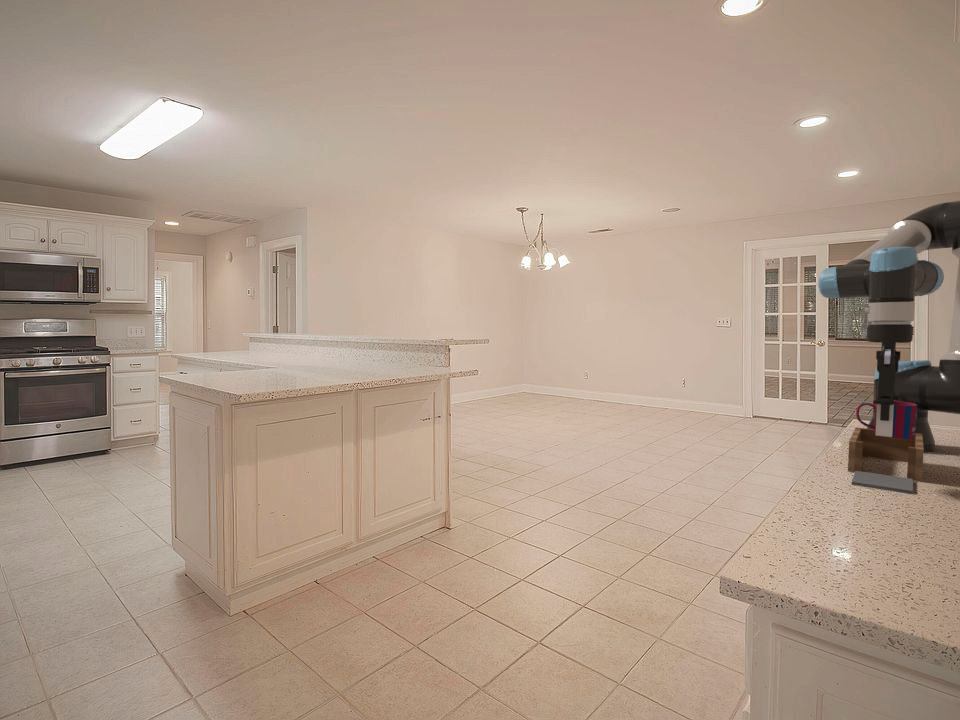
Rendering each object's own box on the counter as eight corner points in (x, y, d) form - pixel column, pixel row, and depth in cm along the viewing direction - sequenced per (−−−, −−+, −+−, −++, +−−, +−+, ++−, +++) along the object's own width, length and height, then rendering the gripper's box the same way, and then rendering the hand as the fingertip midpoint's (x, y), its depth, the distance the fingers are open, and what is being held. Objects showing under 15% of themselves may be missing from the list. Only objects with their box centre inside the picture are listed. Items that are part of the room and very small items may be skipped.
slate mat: (855, 473, 118) (855, 470, 118) (912, 481, 112) (912, 478, 112) (851, 484, 110) (851, 481, 110) (912, 493, 104) (913, 491, 104)
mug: (915, 440, 105) (918, 406, 104) (854, 433, 111) (856, 401, 110) (913, 434, 110) (916, 402, 109) (855, 428, 116) (857, 397, 115)
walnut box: (854, 454, 134) (855, 427, 134) (920, 462, 126) (922, 433, 125) (847, 471, 120) (849, 441, 119) (922, 481, 112) (923, 449, 111)
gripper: (870, 323, 118) (865, 423, 120) (864, 323, 103) (859, 438, 105) (913, 322, 114) (907, 427, 115) (913, 323, 99) (907, 444, 100)
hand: (884, 432), depth 110 cm, fingers closed on mug, 7 cm apart
